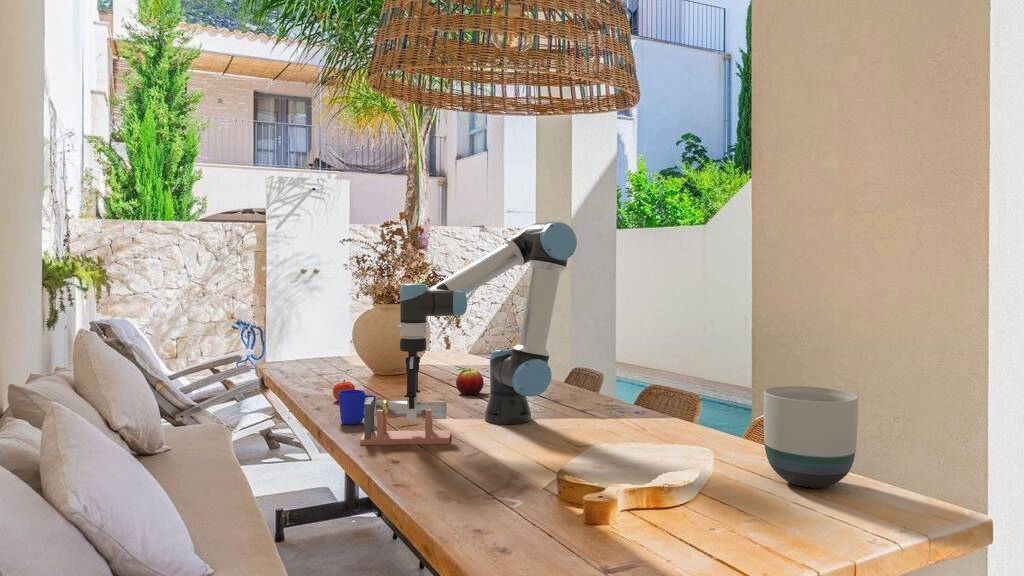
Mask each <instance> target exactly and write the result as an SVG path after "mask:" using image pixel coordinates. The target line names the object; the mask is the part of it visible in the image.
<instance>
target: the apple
mask: <svg viewBox="0 0 1024 576" xmlns="http://www.w3.org/2000/svg"><path fill="white" fill-rule="evenodd" d="M344 390H356V387H355V385H354V384H353V382H351V381H345V379H343V382H339V383H336V384H335V385H334V386H333V388H332V395H333V398H334V399H335V400H336V401H338V402H339V394H338V393H339V392H340V391H344Z"/></svg>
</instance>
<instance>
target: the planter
mask: <svg viewBox="0 0 1024 576" xmlns="http://www.w3.org/2000/svg"><path fill="white" fill-rule="evenodd" d="M858 414H859V396H858V395H856V394H855V393H852V392H850V391H845V390H841V389H835V388H828V387H822V386H821V387H820V386H810V385H809V386H806V385H781V386H780V385H779V386H772V387H768V388H765V389H764V390H763V441H764V442H763V443H764V450H765V455H766V459H767V461H768V463H769V466H770V467H771V468H772V469H773V471H774V472H775V473H776V474H777V475H778V476H779V477H781V478H782V479H783V480H784V481H786V482H788V483H789V484H792V485H795V486H797V485H798V487H801V486H803V487H802V488H807V487H810V489H821V488H823V489H824V488H827V487H831V486H833V485H836V484H837V483H839V482H840V481H842V480H843V479H844V478H845V477H846V476H847V475H848V474H849V473H850V471H851V469H852V466H853V464H854V461H855V457H856V452H857V451H856V450H857V438H858V422H859V418H858V417H859V415H858Z"/></svg>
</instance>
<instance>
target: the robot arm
mask: <svg viewBox="0 0 1024 576" xmlns="http://www.w3.org/2000/svg"><path fill="white" fill-rule="evenodd" d="M577 239H578V238H577V236H576V233H575V231H574V230H573V228H572V226H570V225H568V224H567V223H565V222H562V221H553V220H552V221H548V222H535V223H533V224H531V225H529V226H527V227H526V228H524V229H522V230H521V231H519V232H518V233H516V234H514V235H513V236H511V237H510V238H507V239H506V240H505V244H504V245H502V246H500V247H498V248H497V249H495V250H493V251H492V252H490V253H488V254H487V255H485V256H483V257H482V258H480V259H477V261H474V262H472V263H471V264H469V265H467V266H466V267H465V268H463V269H461V270H459V271H456V272H455V273H454V274H452V275H450V276H449V277H447V278H446V279H444V280H442V281H441V282H439V283H436V284H435V285H433V286H432V287H427V286H428V285H427V284H426V283H404V284H402V285H401V287H400V294H399V295H400V297H399V311H400V312H399V314H400V316H399V317H400V319H399V323H400V324H399V325H397V329H398V330H399V336H400V338H399V350H400V351H401V352H403V353H404V352H405V353H406V352H407V353H408V354H407V356H406V357H405V364H406V365H405V367H406V368H405V369H406V370H405V372H406V394H404V398H406V401H407V419H406V421H417V419H416V417H417V401H419V393H421V389H419V371H420V363H421V357H420V356H419V355H418V353H419V352H420V353H421V352H425V351H427V339H426V336H427V325H428V323H427V317H457V316H458V317H459V316H464V315H465V313H467V308H468V299H467V295H468V294H470V293H472V292H474V291H475V290H477V289H479V288H481V287H482V286H484V285H485V284H488V283H489V282H491V281H492V280H494V279H495V278H497V277H498V276H500V275H502V274H504V273H506V272H508V271H509V270H511V269H512V268H514V267H515V266H520V267H522V266H524V265H525V264H527V263H530V265H531V266H532V269H531V276H530V279H529V280H530V281H529V286H528V292H527V296H526V297H527V298H526V302H525V308H524V313H523V318H522V324H521V329H520V335H519V338H518V343H517V344H516V345H515V346H512V349H510V348H509V349H494V350H492V351H491V352H490V358H489V376H490V377H489V385H490V386H489V391H490V393H489V399H488V402H487V405H486V408H485V411H484V420H485V421H486V422H487V423H488V422H489V423H491V424H498V425H517V424H518V425H520V424H524V423H529V422H531V421H532V411H531V408H530V405H529V402H528V398H527V397H537V396H539V395H541V394H543V393H544V392H545V391H546V390H547V389H548V388H549V386H550V384H551V382H552V375H553V373H552V370H551V368H550V365H549V361H550V360H549V359H550V353H549V352H548V351H547V344H548V337H549V332H550V328H551V322H552V315H553V311H554V306H555V301H556V296H557V291H558V286H559V281H560V274H561V272H564V270H566V269H567V265H568V259H570V258H571V257H572V256H573V255H574V253H575V252H576V250H577V246H578V245H577V244H578V241H577Z"/></svg>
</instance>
